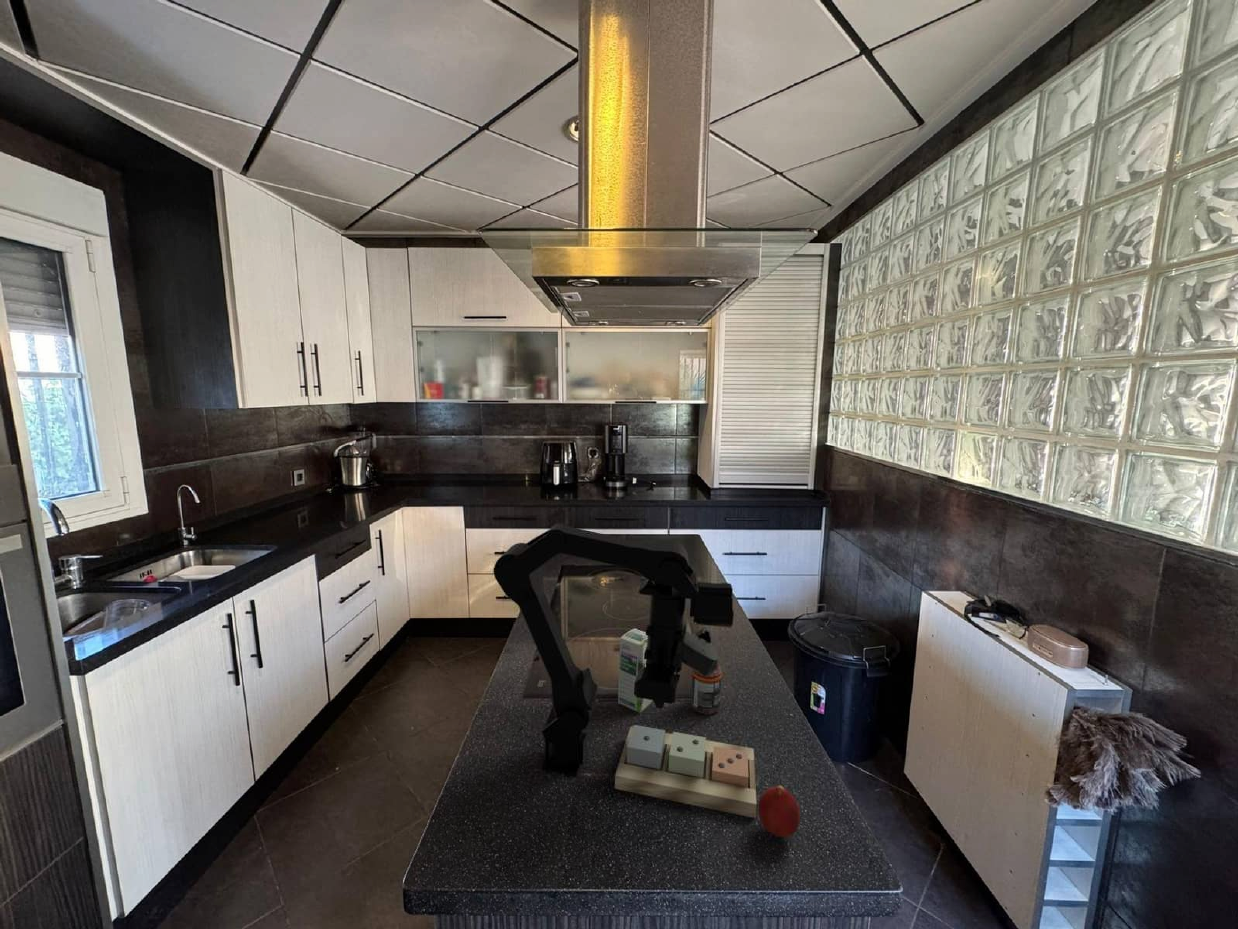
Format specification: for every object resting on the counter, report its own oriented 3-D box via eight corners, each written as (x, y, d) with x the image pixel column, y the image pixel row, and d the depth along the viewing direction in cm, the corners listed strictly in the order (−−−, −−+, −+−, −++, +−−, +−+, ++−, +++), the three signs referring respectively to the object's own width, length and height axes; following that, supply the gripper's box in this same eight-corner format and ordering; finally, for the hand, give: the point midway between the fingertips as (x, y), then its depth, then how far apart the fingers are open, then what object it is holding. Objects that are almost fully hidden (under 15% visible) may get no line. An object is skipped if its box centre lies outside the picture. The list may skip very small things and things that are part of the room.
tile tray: (614, 788, 80) (615, 775, 79) (630, 738, 91) (630, 726, 91) (755, 818, 75) (756, 804, 74) (752, 761, 86) (753, 748, 86)
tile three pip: (711, 787, 79) (712, 769, 79) (712, 761, 85) (713, 745, 84) (747, 794, 78) (748, 776, 77) (746, 768, 83) (747, 751, 83)
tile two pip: (668, 771, 81) (669, 754, 80) (672, 747, 86) (673, 731, 85) (702, 778, 79) (704, 760, 79) (705, 753, 85) (705, 737, 84)
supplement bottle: (695, 694, 105) (698, 645, 103) (723, 703, 102) (726, 652, 100) (686, 710, 99) (689, 658, 98) (715, 720, 97) (718, 666, 95)
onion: (766, 810, 76) (769, 764, 75) (803, 832, 73) (808, 784, 71) (750, 836, 72) (753, 787, 70) (789, 860, 68) (793, 809, 67)
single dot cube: (626, 763, 82) (627, 746, 82) (633, 740, 87) (633, 724, 87) (659, 769, 81) (660, 752, 80) (664, 745, 86) (665, 729, 86)
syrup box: (616, 703, 101) (618, 637, 99) (632, 689, 106) (634, 626, 104) (640, 714, 98) (642, 646, 96) (655, 699, 103) (657, 634, 101)
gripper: (713, 658, 69) (704, 757, 71) (718, 603, 87) (711, 684, 89) (636, 644, 71) (630, 741, 74) (656, 594, 89) (651, 673, 92)
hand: (659, 707), depth 82 cm, fingers closed
